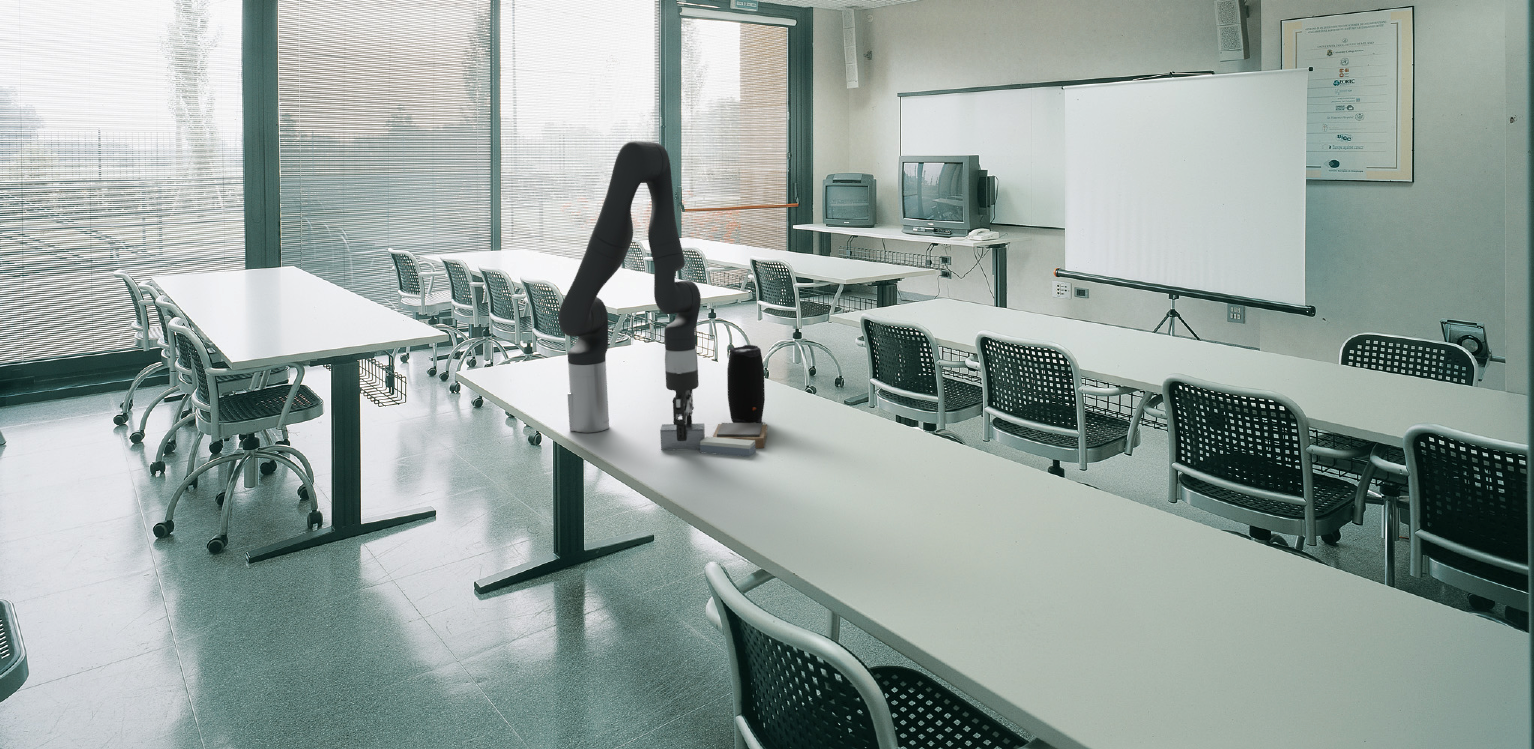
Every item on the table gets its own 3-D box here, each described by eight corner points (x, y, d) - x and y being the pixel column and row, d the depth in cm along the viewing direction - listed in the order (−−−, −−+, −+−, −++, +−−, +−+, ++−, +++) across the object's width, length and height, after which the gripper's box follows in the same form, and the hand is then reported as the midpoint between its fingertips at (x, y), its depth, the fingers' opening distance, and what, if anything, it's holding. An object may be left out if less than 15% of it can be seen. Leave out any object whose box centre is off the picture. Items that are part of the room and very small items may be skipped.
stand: (712, 447, 223) (711, 435, 222) (718, 433, 234) (718, 421, 234) (763, 448, 222) (763, 435, 221) (767, 433, 234) (767, 421, 233)
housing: (661, 450, 222) (660, 430, 221) (662, 444, 227) (662, 424, 226) (704, 449, 222) (703, 429, 221) (704, 443, 227) (704, 423, 226)
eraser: (700, 453, 220) (700, 441, 219) (707, 448, 223) (706, 436, 223) (749, 458, 216) (749, 445, 215) (755, 453, 219) (755, 440, 219)
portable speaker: (766, 426, 240) (765, 350, 236) (729, 427, 239) (727, 351, 235) (763, 417, 248) (762, 343, 244) (727, 418, 248) (725, 344, 243)
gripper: (670, 362, 227) (673, 427, 231) (659, 374, 214) (663, 444, 217) (701, 361, 227) (704, 427, 230) (693, 374, 213) (696, 444, 216)
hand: (684, 435), depth 224 cm, fingers open, 8 cm apart
